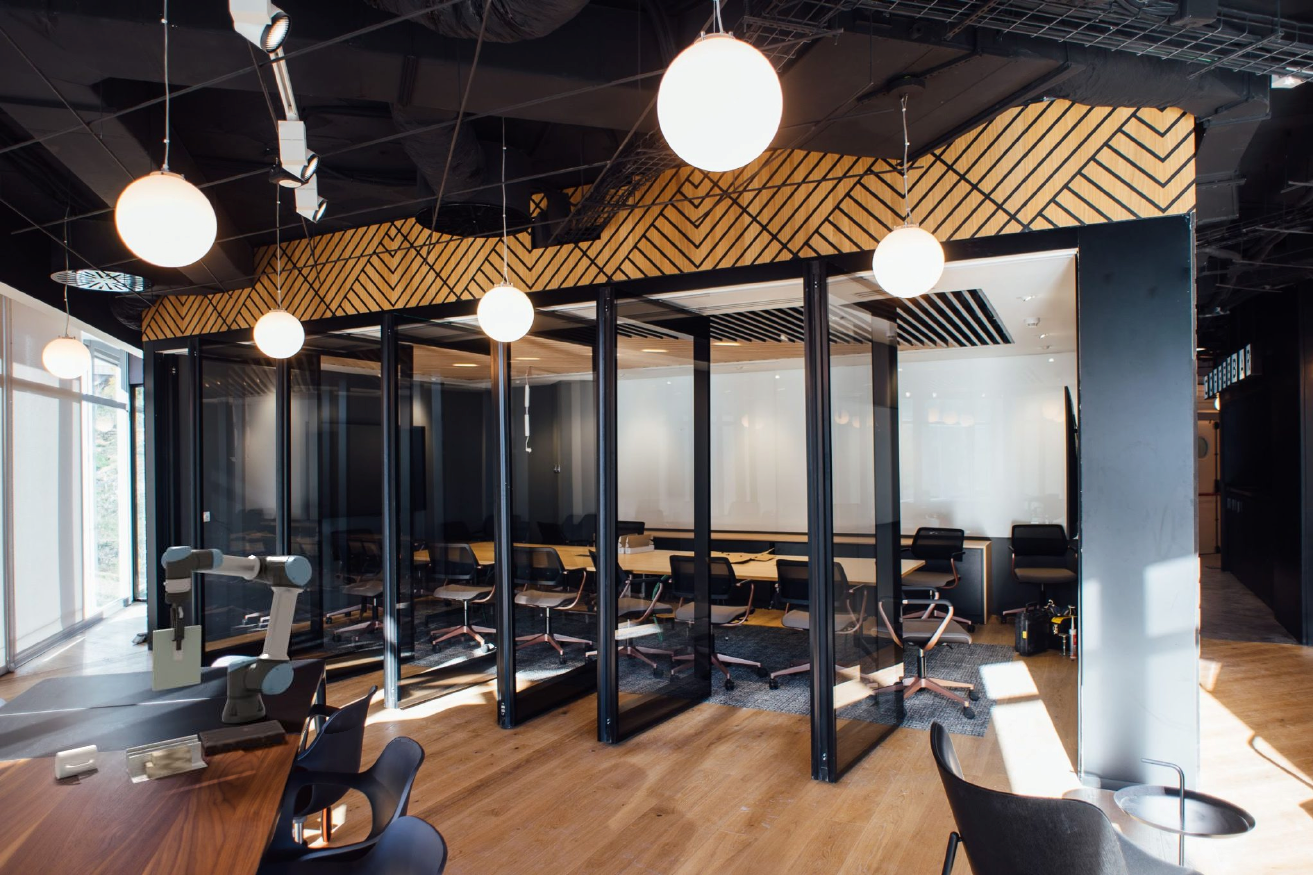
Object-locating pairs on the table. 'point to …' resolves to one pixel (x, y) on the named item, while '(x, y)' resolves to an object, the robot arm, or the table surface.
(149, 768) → the offcut lower
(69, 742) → the table surface
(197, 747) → the rack
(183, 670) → the board
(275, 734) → the diary
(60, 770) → the mug
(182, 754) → the offcut upper
